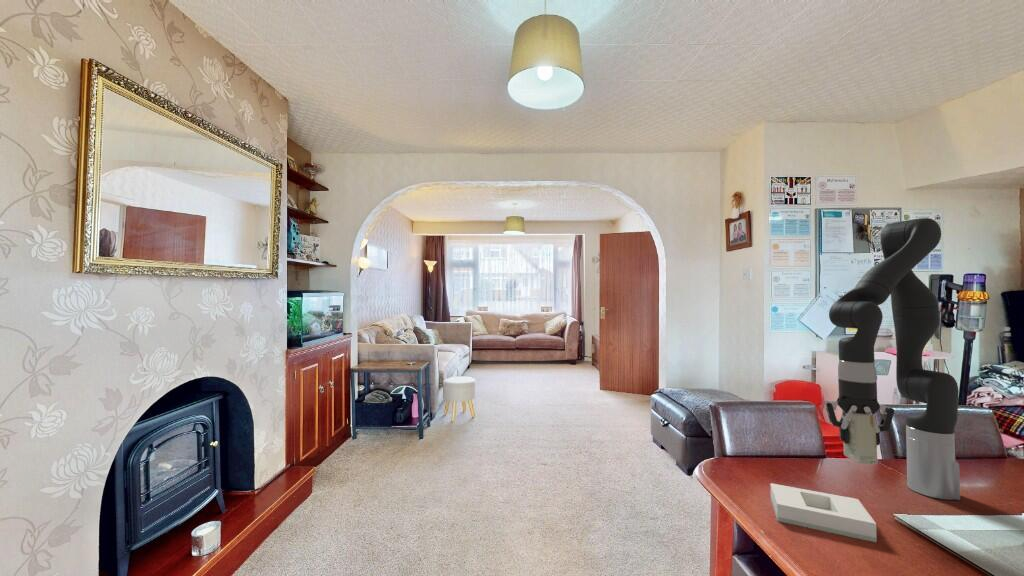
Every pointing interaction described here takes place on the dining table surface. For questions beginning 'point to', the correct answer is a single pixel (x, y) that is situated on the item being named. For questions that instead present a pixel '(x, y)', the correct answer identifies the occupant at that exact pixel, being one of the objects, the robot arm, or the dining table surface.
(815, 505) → the white slotted base
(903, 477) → the dining table surface
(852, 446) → the skincare box
